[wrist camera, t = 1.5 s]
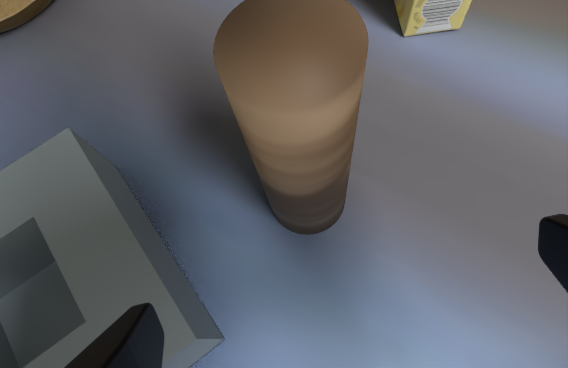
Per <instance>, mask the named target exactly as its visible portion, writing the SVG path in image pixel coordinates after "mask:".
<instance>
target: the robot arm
mask: <svg viewBox="0 0 568 368" xmlns="http://www.w3.org/2000/svg"><path fill="white" fill-rule="evenodd" d="M538 252H539V255H540V257H541V259H542V260H543V262H544V263H545V264H546V266H547V267H548V268H549V270H550V271H551V272H552V273H553V275H554V276H555V277H556V279H557V280H558V281H559V282H560V284H561V285H562V286H563V288H564V289H565V290H566V291H567V293H568V215H565V214H557V215H552V216H548V217H544V218H542V219H541V221H540V224H539V238H538ZM164 340H165V337H164V330H163V327H162V325H161V323H160V320H159V318H158V316H157V313H156V311H155V309H154V307H153V305H152V304H151V303H149V302H147V303H143V304H138V305H134V306H132V307H130V308H129V309H128V310H127V311H126V312H125V313H124V314H123V315H121V316H120V317H119V318H118V319H117V320H116V321H115V322H114V323H113V324H111V325H110V326H109V327H108V328H107V329H106V330H105V331H104V332H103V333H102V334H100V335H99V336H98V337H97V338H96V339H95V340H94V341H93V342H92V343H90V344H89V345H88V346H87V347H86V348H85V349H84V350H83V351H82V352H81V353H79V354H78V355H77V356H76V357H75V358H74V359H73V360H72V361H71V362H69V363H68V364H67V365H66V366H65V367H64V368H162V361H163V351H164Z"/></svg>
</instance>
